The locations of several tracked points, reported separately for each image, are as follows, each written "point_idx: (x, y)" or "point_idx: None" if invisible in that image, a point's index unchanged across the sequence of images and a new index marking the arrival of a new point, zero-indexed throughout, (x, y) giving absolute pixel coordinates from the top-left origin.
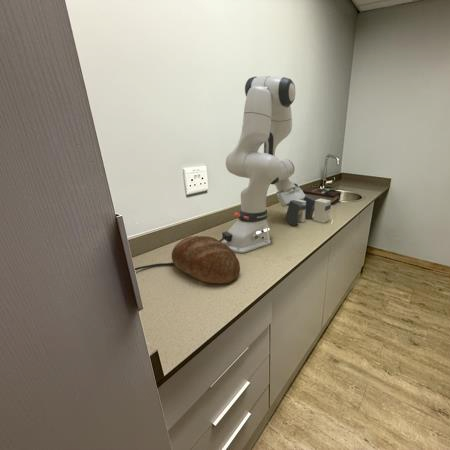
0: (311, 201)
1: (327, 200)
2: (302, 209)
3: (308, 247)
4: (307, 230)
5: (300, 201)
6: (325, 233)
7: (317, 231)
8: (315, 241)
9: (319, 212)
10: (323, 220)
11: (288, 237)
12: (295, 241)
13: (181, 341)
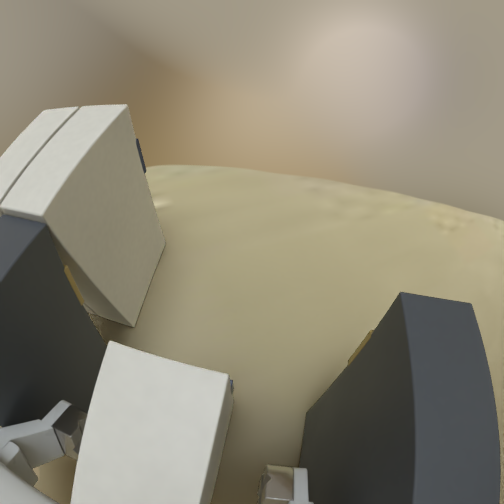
0: (29, 283)
1: (40, 124)
2: (374, 330)
3: (488, 228)
4: (367, 298)
5: (213, 449)
6: (338, 198)
7: (341, 240)
8: (443, 218)
9: (128, 237)
10: (160, 237)
11: (492, 340)
12: (496, 290)
13: None
